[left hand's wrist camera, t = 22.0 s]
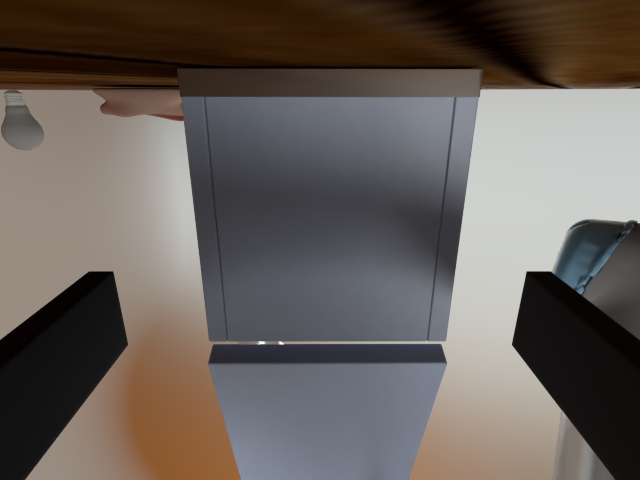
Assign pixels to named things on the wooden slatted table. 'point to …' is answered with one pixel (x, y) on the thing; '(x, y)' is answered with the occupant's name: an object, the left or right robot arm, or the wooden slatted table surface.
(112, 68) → the wooden slatted table surface
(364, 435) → the lid
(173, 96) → the anatomical model
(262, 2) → the wooden slatted table surface
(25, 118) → the light bulb
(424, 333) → the chest
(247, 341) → the right robot arm
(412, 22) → the wooden slatted table surface
